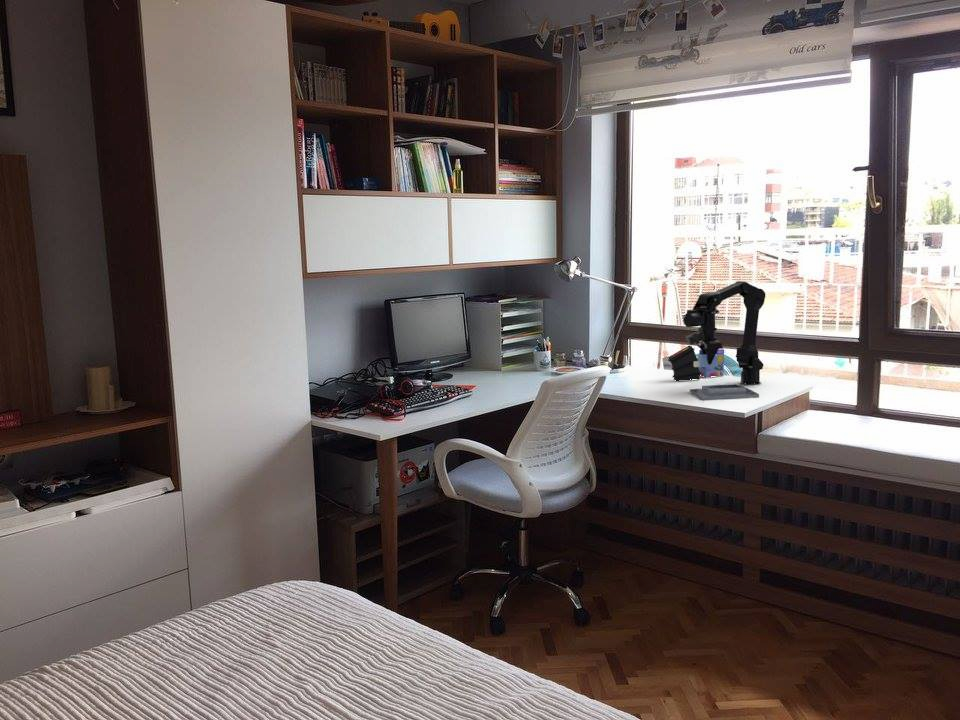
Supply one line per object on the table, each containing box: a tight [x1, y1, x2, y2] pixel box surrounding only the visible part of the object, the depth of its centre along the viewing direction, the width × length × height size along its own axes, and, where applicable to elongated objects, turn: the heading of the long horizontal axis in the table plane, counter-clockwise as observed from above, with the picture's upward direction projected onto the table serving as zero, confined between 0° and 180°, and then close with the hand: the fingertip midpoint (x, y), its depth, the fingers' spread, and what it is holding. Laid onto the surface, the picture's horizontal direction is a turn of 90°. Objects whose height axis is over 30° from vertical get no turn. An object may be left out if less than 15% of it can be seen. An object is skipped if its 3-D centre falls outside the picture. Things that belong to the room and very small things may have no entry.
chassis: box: [689, 383, 760, 401], centre depth 318 cm, size 22×16×3 cm
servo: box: [694, 354, 718, 367], centre depth 327 cm, size 9×4×5 cm, turn 92°
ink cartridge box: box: [698, 348, 725, 377], centre depth 357 cm, size 10×6×14 cm, turn 111°
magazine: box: [667, 344, 701, 382], centre depth 351 cm, size 4×13×15 cm, turn 97°
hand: (707, 363), depth 327 cm, fingers closed on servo, 4 cm apart
